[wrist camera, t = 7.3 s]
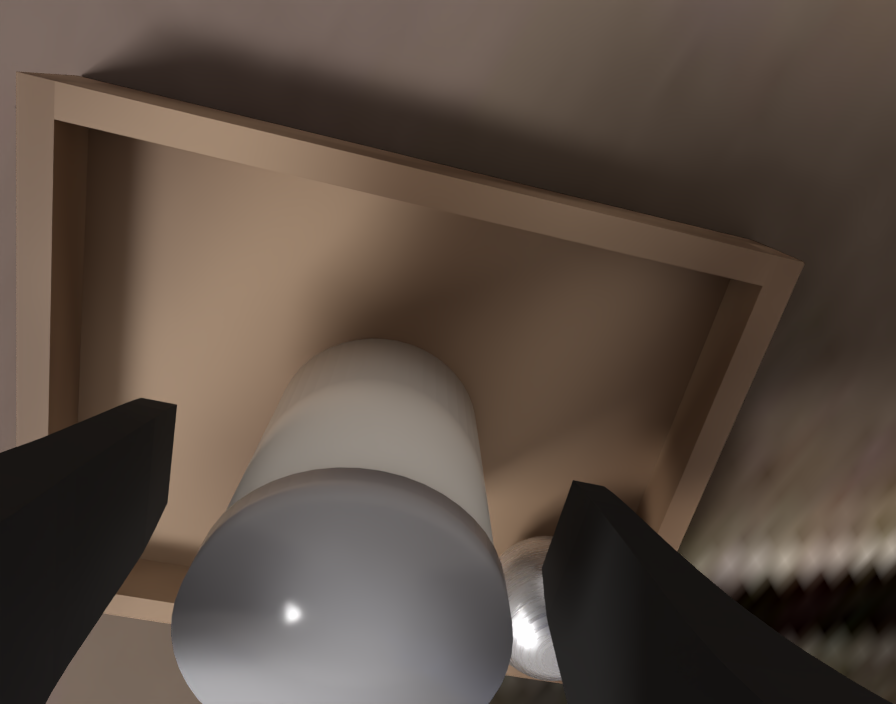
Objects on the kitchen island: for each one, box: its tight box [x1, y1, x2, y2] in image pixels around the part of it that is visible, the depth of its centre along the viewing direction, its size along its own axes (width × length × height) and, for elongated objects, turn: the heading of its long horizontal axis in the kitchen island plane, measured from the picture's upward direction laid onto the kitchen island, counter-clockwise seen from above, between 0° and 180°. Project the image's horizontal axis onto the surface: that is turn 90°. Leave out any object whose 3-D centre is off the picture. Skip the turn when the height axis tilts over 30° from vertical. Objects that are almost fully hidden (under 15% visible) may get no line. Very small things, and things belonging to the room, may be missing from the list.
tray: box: [16, 72, 805, 684], centre depth 14 cm, size 14×11×2 cm
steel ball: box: [499, 536, 562, 681], centre depth 14 cm, size 3×3×3 cm
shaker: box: [171, 339, 513, 704], centre depth 12 cm, size 5×5×6 cm
